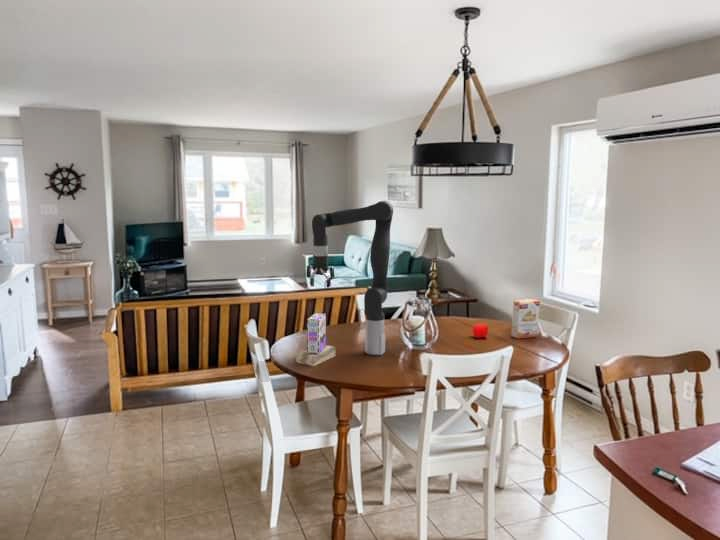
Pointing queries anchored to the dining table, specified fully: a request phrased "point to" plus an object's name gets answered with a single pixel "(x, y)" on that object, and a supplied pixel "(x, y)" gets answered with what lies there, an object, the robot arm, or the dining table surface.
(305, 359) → the riser
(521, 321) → the cracker box
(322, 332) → the candy box
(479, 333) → the red piece
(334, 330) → the dining table surface
